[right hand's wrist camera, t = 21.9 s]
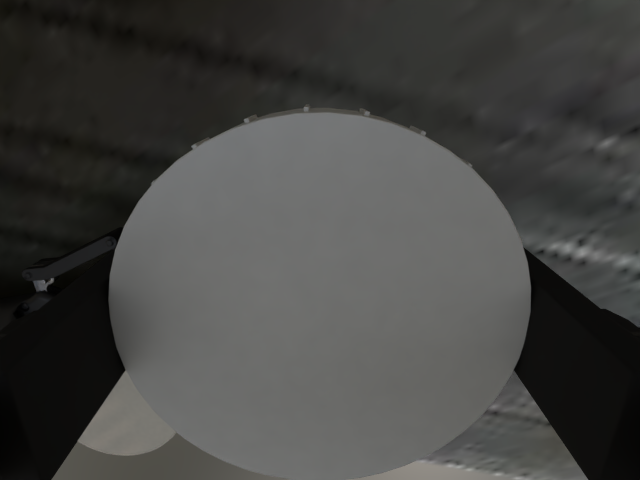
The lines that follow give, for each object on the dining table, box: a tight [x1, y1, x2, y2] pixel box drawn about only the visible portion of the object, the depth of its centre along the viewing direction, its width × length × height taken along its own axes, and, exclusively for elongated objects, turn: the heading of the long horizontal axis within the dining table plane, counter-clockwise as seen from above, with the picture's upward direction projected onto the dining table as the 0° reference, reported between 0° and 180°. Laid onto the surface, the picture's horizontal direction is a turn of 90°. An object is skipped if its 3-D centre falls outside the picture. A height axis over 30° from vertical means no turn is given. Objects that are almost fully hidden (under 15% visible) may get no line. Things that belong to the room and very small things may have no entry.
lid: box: [108, 105, 531, 480], centre depth 11 cm, size 11×11×2 cm
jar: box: [78, 370, 176, 455], centre depth 37 cm, size 10×10×20 cm
